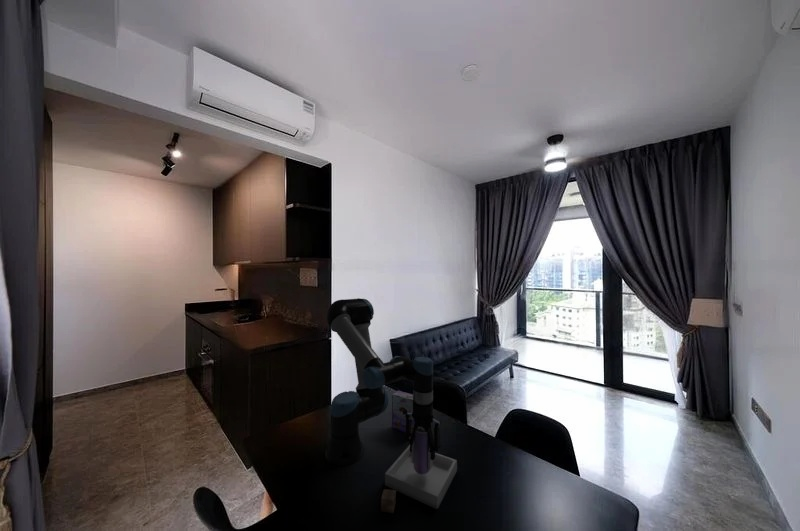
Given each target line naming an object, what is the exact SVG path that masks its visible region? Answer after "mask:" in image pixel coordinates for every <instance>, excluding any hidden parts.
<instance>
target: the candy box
mask: <svg viewBox="0 0 800 531" xmlns="http://www.w3.org/2000/svg"><path fill="white" fill-rule="evenodd" d="M408 412H411V413H412V412H413V393H408V392H404V391H401V390H396V391H395V392H394V393H392V394H391V428H392V429H394V430H397V431H400V432H403V433H406V417H405V415H406V414H407V413H408ZM414 424H415V421H414V419H413V417H412V427H411V435H412V432H413V428H414Z"/></svg>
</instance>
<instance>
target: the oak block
mask: <svg viewBox="0 0 800 531" xmlns="http://www.w3.org/2000/svg"><path fill="white" fill-rule="evenodd" d="M380 502H381V503H380V504H381V505H380V507H381V508H380V511H381V512H384V513H390V514H394V512H395V507H396V504H397V491H396V490H394V489H386V488H384V489H383V491H382V495H381V498H380Z"/></svg>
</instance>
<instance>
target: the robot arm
mask: <svg viewBox="0 0 800 531" xmlns="http://www.w3.org/2000/svg"><path fill="white" fill-rule="evenodd" d="M374 314H375V311H374V306H373V303H371V302H370V300H368V299H366V298H348V299H346V298H345V299H338V300H336V301H334V302H332V303H331V304H330V305H329V307H328V309H327V311H326V322H327V325H328V327H329V329H331V331H332V332H334V333H336V334H337V335H338V337H339V338H340V339H341V341H342V343H343V344H344V345H345V346H346V348H347V349H348V351H349V352H350V354H352V356H353V358H354V363H355V369H356V377H357V386H356V387H355V391H354V390H349V391H343V392H340V393H338V394H336V395H335V396H334V397H333V398H332V400H331V404H330V410H329V412H330V431H329V434H330V435H329V439H328V442H327V445H326V447H325V459H326V461H327V462H328V463H330V464H332V465H335V466H346V465H351V464H353V463H355V462H357V461H358V460H359V459H360V458H361V456H362V455H363V443H362V441H361V438H360V437H361V436H360V433H359V425H360V424H361V423H364V422H366V421H368V420H370V419H372V418H375V417H378V416H380V415H381V414H383V413H385V411H386V410H387V408H388V405H389V394H388V391H387V390H386V387H385V386H387V385H390V384H392V383H395V382H398V381H401V380H407V381H409V382H412V394H413V412H412V413H411V412H408V413H407V414H406V415H405V417H406V433H405V432H404V433H405V435H404V436H405V437H404V440H405V442H409V445H410V452H412V463H413V464H414V430H415V428H416V429H417V428H418V427H422V428H424V430H425V432H427V433H428V443H429V447H430V449H429V451H428V470H430V469H431V468H432V466H433V460H434V459H435V453H438V451H439V450H440V449H441V431H440V430H441V429H440V427H441V422H442V421H441V420H437V419H435V418H434V402H433V401H434V372H435V370H434V361H433V360H432V359H431V357H428V356H426V357H425V356H418V357H417V356H416V357H415V358H414V359H411V358H407V357H405V356H402V355H401V356H399V355H395V356H393V357H392V358H391V359H390V360H389V361H387V362H384V361H383V360H382V359H381V358H380V356H378V354H377V353H376V351H375V350H374V348H372V342H371V337H370V330H369V328H370V326H371V324H372V323H371V321H372V320H373V318H374ZM412 417H413V419H414V421H415V424H414V428H413V432H412V435H411V427H412ZM432 424H433V427H434V428H433V430H432Z"/></svg>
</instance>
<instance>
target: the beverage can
mask: <svg viewBox="0 0 800 531" xmlns="http://www.w3.org/2000/svg"><path fill="white" fill-rule="evenodd" d="M429 449H430V447H429V443H428V433H427V432H425V430H424V428H422V427H418V428H417V429H416V428H415V430H414V470H415V471H416V473H418V474H420V475H425V474H427V473H428V472H429V471H430V470H428V451H429Z"/></svg>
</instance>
